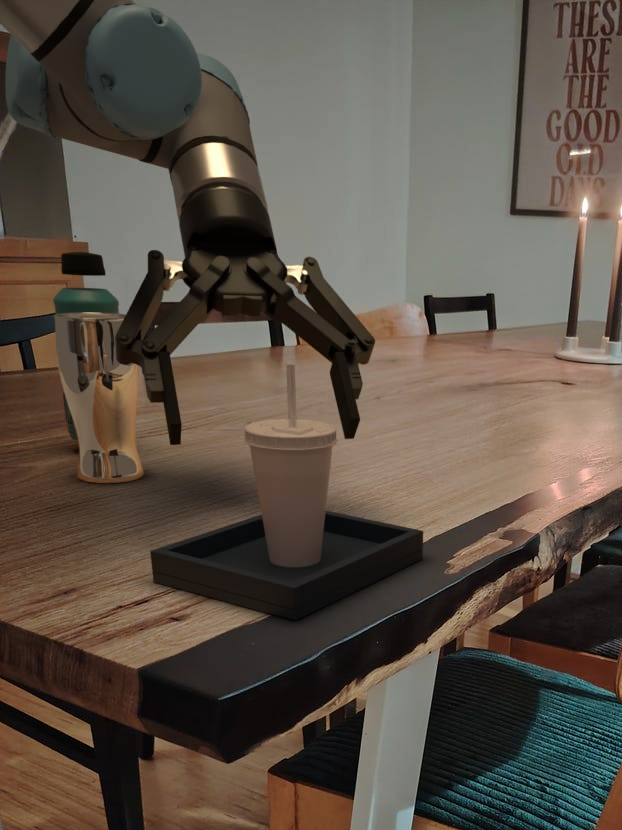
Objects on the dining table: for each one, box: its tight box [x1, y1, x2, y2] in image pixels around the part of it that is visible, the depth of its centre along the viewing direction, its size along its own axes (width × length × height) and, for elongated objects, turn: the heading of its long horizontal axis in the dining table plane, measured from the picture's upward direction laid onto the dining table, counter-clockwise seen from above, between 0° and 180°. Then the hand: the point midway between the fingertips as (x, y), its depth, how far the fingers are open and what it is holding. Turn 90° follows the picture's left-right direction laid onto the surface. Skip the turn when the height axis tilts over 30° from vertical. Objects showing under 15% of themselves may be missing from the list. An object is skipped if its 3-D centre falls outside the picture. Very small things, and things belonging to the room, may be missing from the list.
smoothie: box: [243, 363, 338, 567], centre depth 65 cm, size 6×6×14 cm
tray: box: [150, 510, 424, 622], centre depth 68 cm, size 16×13×2 cm
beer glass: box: [53, 312, 145, 484], centre depth 88 cm, size 7×7×15 cm
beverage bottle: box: [52, 251, 120, 441], centre depth 97 cm, size 6×7×20 cm
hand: (267, 432), depth 72 cm, fingers open, 13 cm apart
